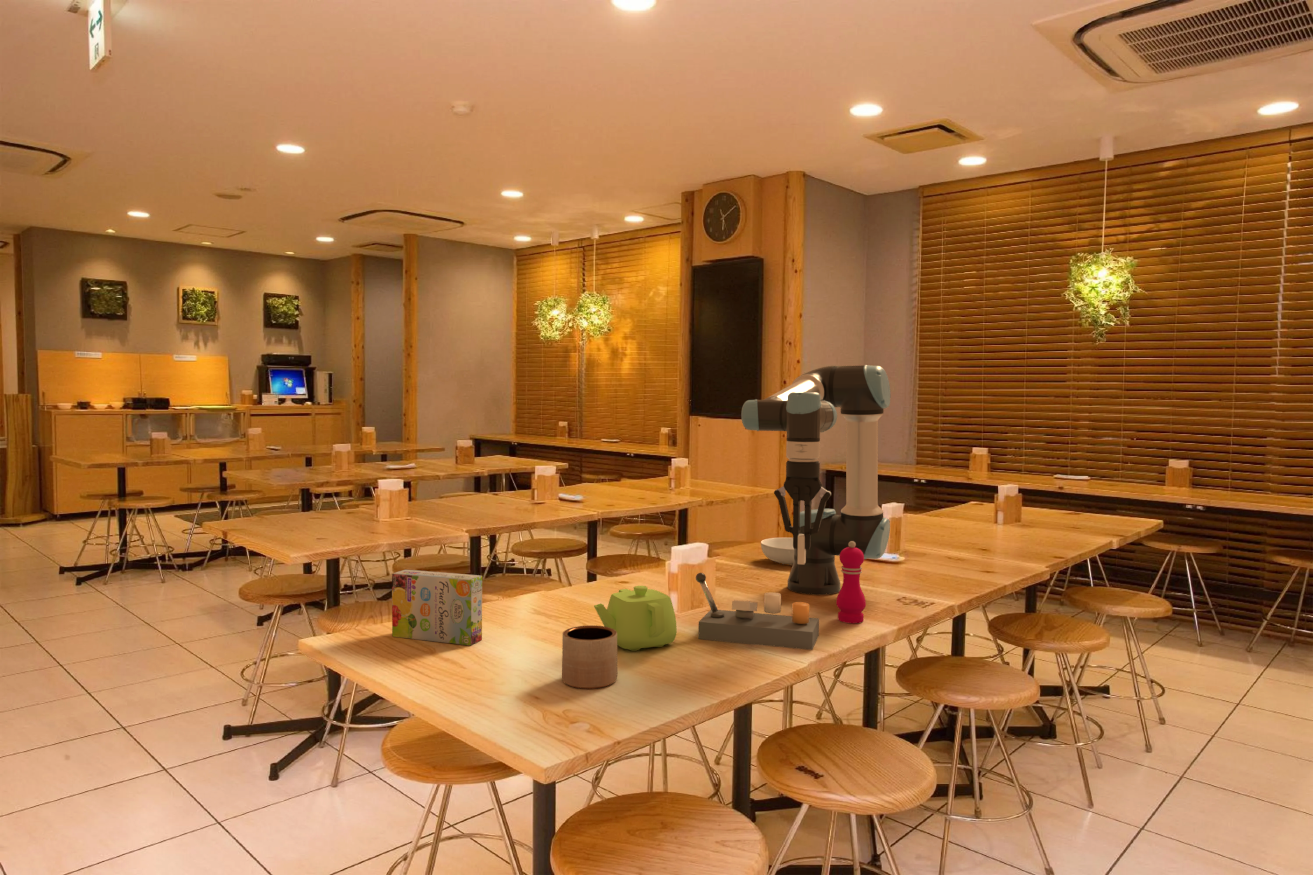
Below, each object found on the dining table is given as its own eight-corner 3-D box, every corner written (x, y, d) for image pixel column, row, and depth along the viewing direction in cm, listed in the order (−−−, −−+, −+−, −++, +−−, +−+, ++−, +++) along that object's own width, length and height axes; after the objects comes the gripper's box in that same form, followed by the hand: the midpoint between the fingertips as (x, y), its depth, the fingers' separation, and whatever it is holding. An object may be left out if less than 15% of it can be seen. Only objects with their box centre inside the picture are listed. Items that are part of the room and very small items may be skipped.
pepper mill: (866, 624, 204) (867, 544, 203) (836, 623, 205) (837, 542, 204) (864, 617, 211) (866, 539, 210) (835, 615, 212) (837, 538, 211)
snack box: (483, 639, 190) (483, 574, 189) (470, 646, 184) (470, 579, 184) (405, 630, 197) (404, 567, 196) (390, 637, 191) (389, 572, 191)
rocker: (740, 609, 199) (741, 600, 199) (757, 610, 198) (757, 601, 198) (731, 609, 190) (732, 599, 190) (749, 610, 188) (749, 601, 189)
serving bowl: (759, 567, 272) (759, 546, 271) (761, 555, 292) (762, 536, 292) (824, 570, 268) (824, 549, 268) (822, 558, 289) (822, 538, 289)
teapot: (613, 663, 174) (613, 601, 173) (577, 638, 191) (577, 582, 191) (689, 651, 182) (690, 592, 181) (648, 628, 200) (648, 575, 199)
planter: (562, 672, 168) (562, 625, 167) (616, 670, 169) (616, 624, 168) (561, 691, 157) (561, 641, 156) (618, 689, 158) (618, 640, 157)
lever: (712, 612, 197) (695, 573, 198) (721, 608, 197) (704, 570, 198) (709, 614, 195) (693, 575, 196) (718, 611, 194) (701, 572, 195)
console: (711, 625, 203) (711, 601, 202) (818, 635, 195) (819, 610, 194) (698, 638, 191) (698, 613, 191) (812, 649, 183) (812, 623, 183)
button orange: (793, 618, 192) (793, 601, 192) (810, 619, 191) (810, 602, 191) (790, 622, 189) (791, 605, 188) (807, 624, 187) (808, 606, 187)
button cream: (765, 608, 194) (765, 591, 194) (781, 609, 193) (782, 592, 193) (762, 612, 190) (762, 595, 190) (779, 614, 189) (779, 596, 189)
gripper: (771, 460, 186) (770, 564, 188) (830, 462, 182) (828, 568, 184) (777, 458, 194) (775, 558, 195) (833, 459, 190) (832, 561, 191)
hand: (801, 563), depth 189 cm, fingers closed
